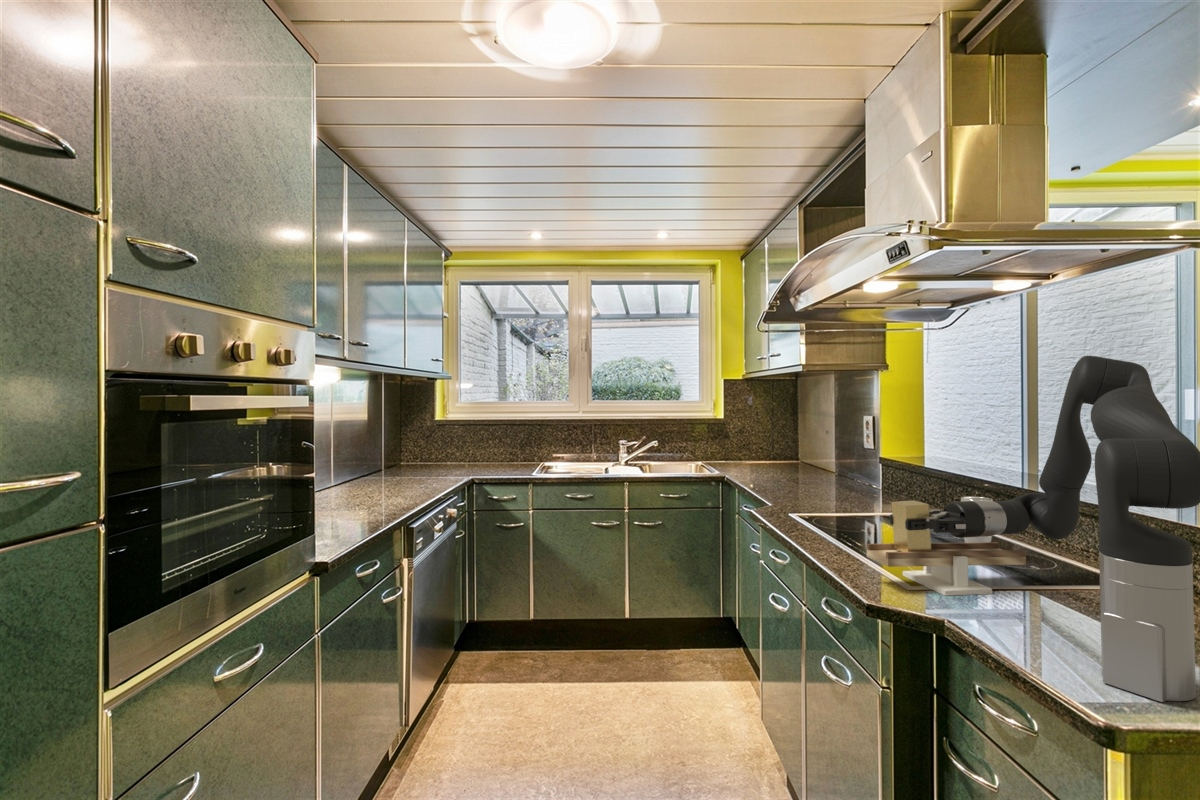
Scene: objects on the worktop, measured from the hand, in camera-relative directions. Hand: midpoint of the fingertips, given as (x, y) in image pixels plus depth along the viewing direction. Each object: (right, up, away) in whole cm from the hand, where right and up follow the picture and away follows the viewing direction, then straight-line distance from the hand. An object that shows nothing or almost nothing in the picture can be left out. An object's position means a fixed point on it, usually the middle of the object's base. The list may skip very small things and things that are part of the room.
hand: (898, 522), depth 122 cm
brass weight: (+3, -6, 0) cm, 7 cm away
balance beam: (+10, -8, +1) cm, 13 cm away
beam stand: (+10, -13, +1) cm, 17 cm away
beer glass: (+30, -14, +20) cm, 38 cm away
